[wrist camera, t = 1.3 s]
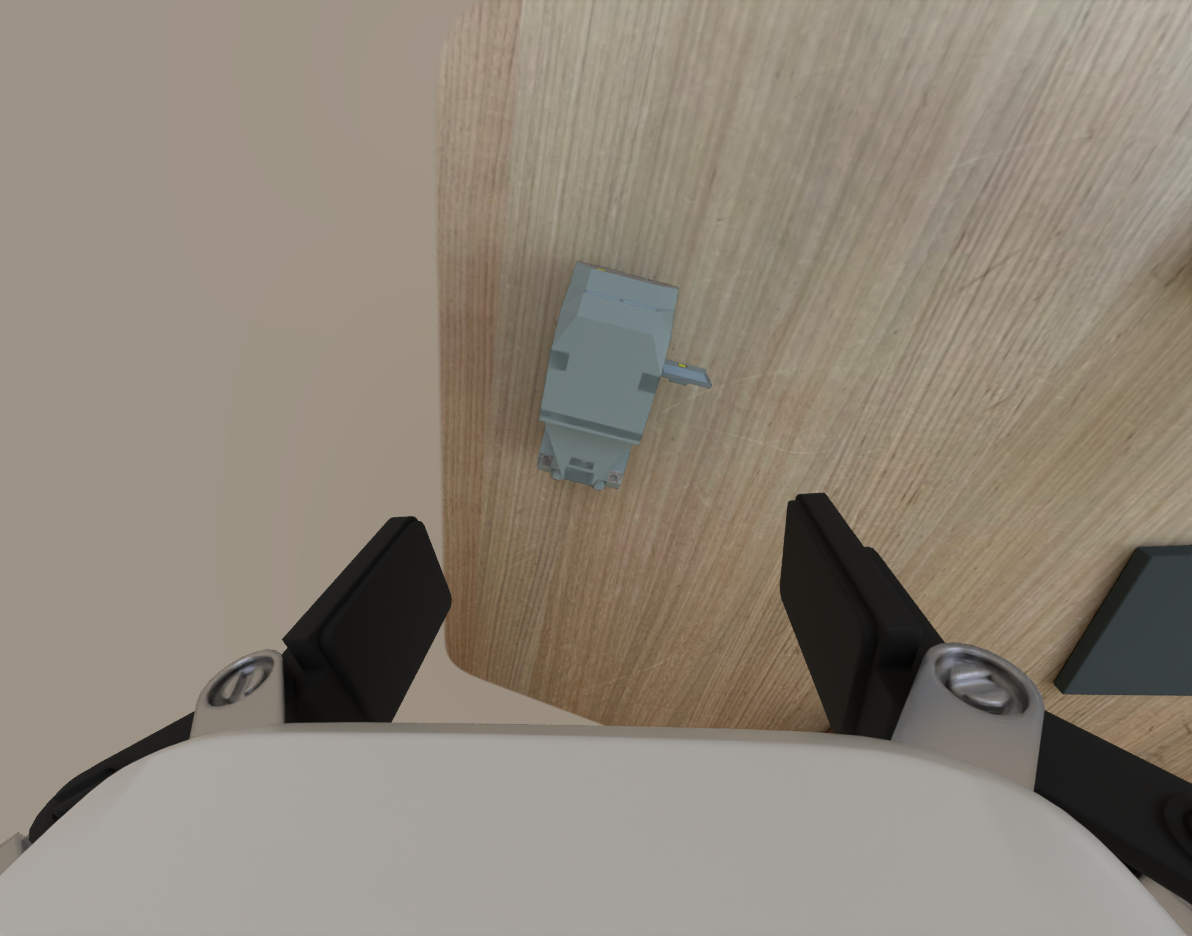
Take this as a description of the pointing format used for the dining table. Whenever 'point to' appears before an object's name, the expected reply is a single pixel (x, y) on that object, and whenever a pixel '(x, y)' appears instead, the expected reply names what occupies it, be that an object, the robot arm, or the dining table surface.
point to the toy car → (606, 373)
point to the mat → (1139, 631)
